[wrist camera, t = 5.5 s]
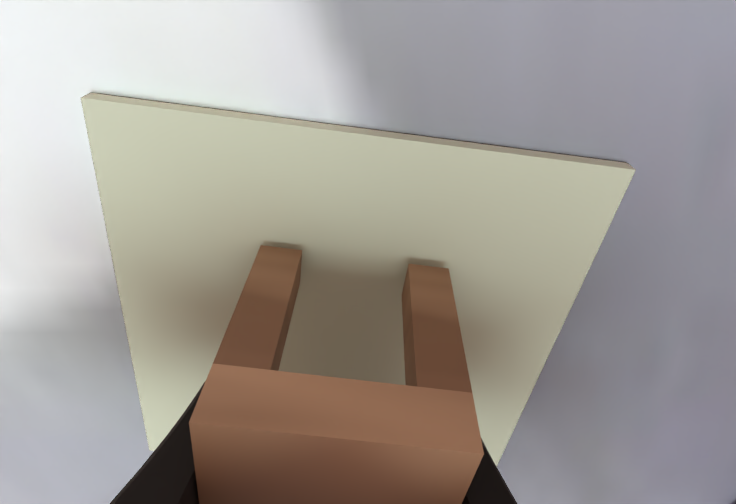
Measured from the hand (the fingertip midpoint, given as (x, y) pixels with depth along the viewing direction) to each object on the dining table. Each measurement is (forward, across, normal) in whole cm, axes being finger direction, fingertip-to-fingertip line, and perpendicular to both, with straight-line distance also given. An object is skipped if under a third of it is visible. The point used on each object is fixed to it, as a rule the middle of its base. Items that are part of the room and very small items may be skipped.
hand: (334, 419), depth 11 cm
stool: (+2, 0, 0) cm, 2 cm away
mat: (+3, 0, 0) cm, 3 cm away
